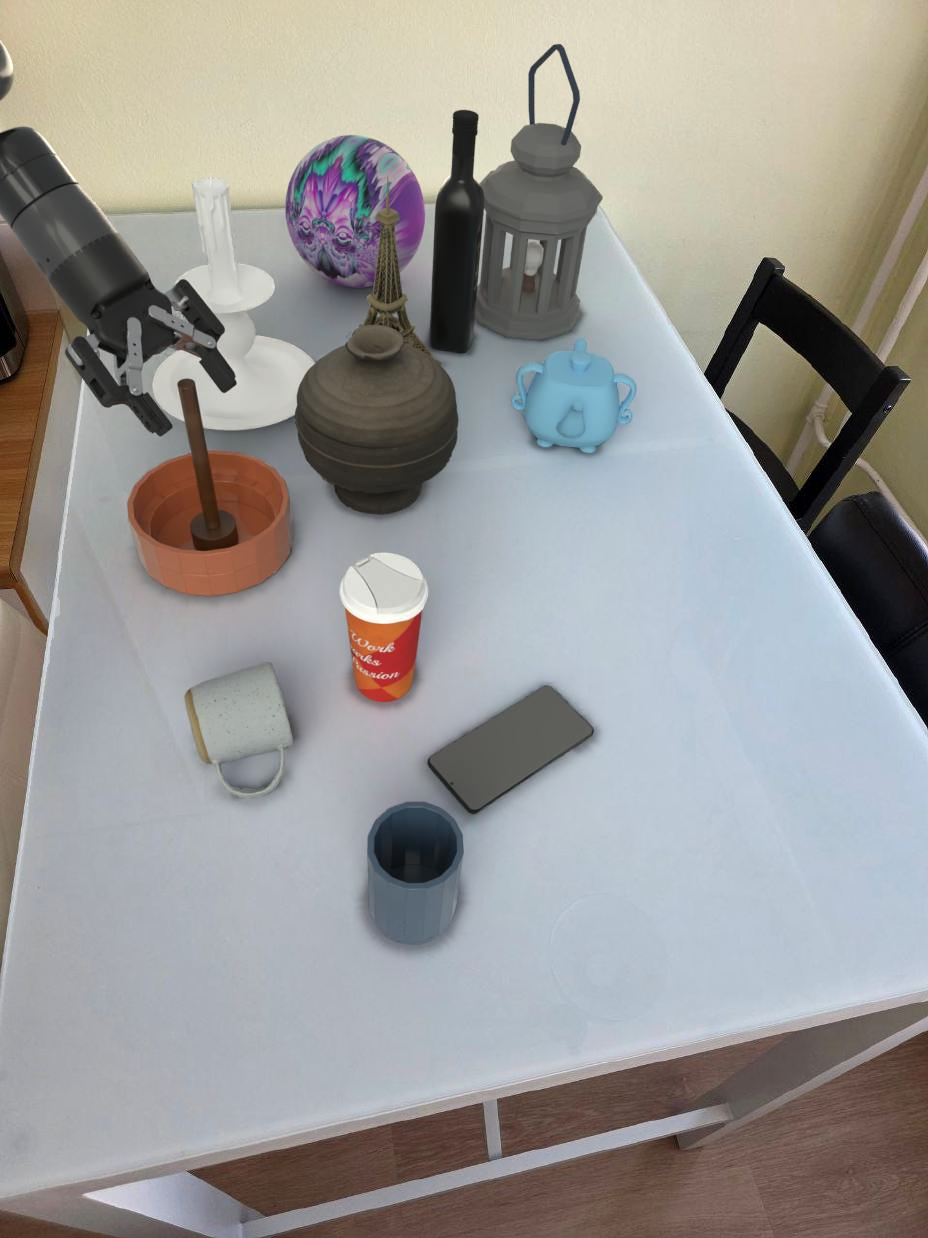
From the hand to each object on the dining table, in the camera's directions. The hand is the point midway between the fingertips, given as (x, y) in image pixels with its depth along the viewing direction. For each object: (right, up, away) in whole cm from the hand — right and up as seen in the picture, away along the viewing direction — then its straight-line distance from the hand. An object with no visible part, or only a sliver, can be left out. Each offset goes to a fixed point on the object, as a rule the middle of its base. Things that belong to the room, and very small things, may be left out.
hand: (199, 409), depth 85 cm
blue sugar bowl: (+38, +4, +31) cm, 49 cm away
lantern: (+34, +26, +51) cm, 66 cm away
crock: (+21, -43, -12) cm, 49 cm away
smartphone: (+29, -32, -1) cm, 43 cm away
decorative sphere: (+9, +32, +53) cm, 63 cm away
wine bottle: (+23, +20, +44) cm, 53 cm away
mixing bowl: (-2, -12, +14) cm, 18 cm away
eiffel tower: (+14, +15, +39) cm, 44 cm away
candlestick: (-5, +10, +33) cm, 34 cm away
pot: (+15, -4, +22) cm, 27 cm away
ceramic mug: (+5, -32, -3) cm, 32 cm away
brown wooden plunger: (-2, -11, +13) cm, 17 cm away
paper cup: (+17, -26, +3) cm, 31 cm away
